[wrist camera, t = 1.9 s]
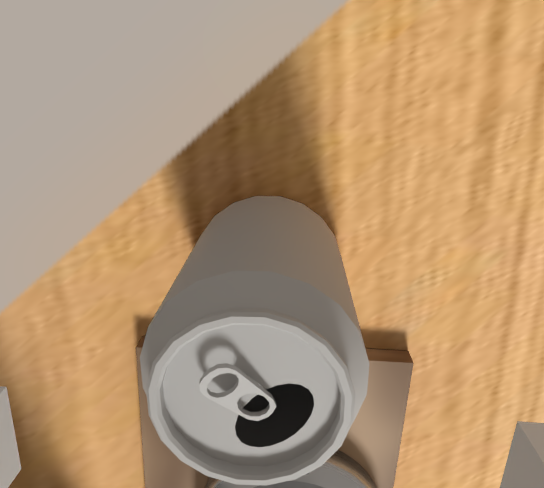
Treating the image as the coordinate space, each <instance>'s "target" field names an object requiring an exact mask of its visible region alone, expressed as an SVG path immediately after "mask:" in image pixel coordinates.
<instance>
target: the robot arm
mask: <svg viewBox="0 0 544 488" xmlns="http://www.w3.org/2000/svg"><path fill="white" fill-rule="evenodd" d="M20 470H21V464H20V458H19V453H18V447H17V442H16V436H15V431H14V425H13V420H12V414H11V409H10V403H9V398H8V392H7V387H2V386H0V488H8V487H9V486H10V484H11V483H12V482H13V480H14V479H15V477H16V476H17V474H18V473H19V472H20ZM500 488H544V423H534V422H519V421H517V425H516V429H515V432H514V436H513V440H512V444H511V448H510V451H509V455H508V459H507V463H506V466H505V470H504V474H503V478H502V482H501V485H500Z"/></svg>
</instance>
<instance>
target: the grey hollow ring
mask: <svg viewBox="0 0 544 488" xmlns="http://www.w3.org/2000/svg"><path fill="white" fill-rule="evenodd" d="M205 488H376V485H375V483H374V481H373V480H372V478H371V477H370V475H369V474H368V472H367V471H366V470H365V469H364V468H363V467H362V466H361V465H360V464H359V463H358V462H356V461H355V460H354V459H353V458H351V457H350V456H348V455H347V454H345V453H343V452H342V451H340V450H337V451H336V452H335V453H334V454H333V455H332V456H331V457H330V458H329V459H328V460H327V461H326V462H325V463H324V464H323V465H322V466H320V467H318V468H316V469H314V470H313V471H311V472H309V473H307V474H305V475H303V476H301V477H299V478H297V479H294V480H290V481H285V482H280V483H276V484H271V485H239V484H233V483H229V482H226V481H222V480H219V479H215V478H212V477H209V479H208V481H207V484H206V486H205Z"/></svg>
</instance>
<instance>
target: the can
mask: <svg viewBox="0 0 544 488" xmlns="http://www.w3.org/2000/svg"><path fill="white" fill-rule="evenodd" d="M140 365H141V374H142V384H143V389H144V391H145V393H146V395H147V404H148V413H149V417H150V419H151V421H152V423H153V425H154V427H155V429H156V431H157V433H158V435H159V437H160V439H161V441H162V442H163V443H164V444H165V445H166V446H167V447H168V448H169V449H170V450H171V451H172V452H173V453H174V454H175V455H176V456H177V457H178V458H179V460H180V461H182V462H184V463H185V464H187V465H189V466H190V467H192V468H194V469H196V470H197V471H199V472H201V473H202V474H204V475H206V476H208V477H212V478H215V479H219V480H222V481H226V482H229V483H233V484H239V485H271V484H276V483H280V482H285V481H290V480H294V479H297V478H299V477H301V476H303V475H305V474H307V473H309V472H311V471H313V470H314V469H316V468H318V467H320V466H322V465H323V464H324V463H325V462H326V461H327V460H328V459H329V458H330V457H331V456H332V455H333V454H334V453H335V452H336V451H337V450H338V449H339V448H340V447H341V446H342V444H343V442H344V440H345V438H346V436H347V434H348V431H349V429H350V427H351V425H352V423H353V422H354V420H355V418H356V416H357V414H358V412H359V410H360V408H361V406H362V404H363V401H364V399H365V397H366V395H367V387H368V375H369V360H368V356H367V353H366V349H365V345H364V341H363V337H362V334H361V330H360V326H359V322H358V319H357V315H356V311H355V307H354V303H353V300H352V296H351V292H350V288H349V285H348V281H347V277H346V273H345V269H344V266H343V262H342V258H341V255H340V251H339V248H338V244H337V241H336V237H335V235H334V234H333V232H332V231H331V230H330V228H329V227H328V225H327V224H326V223H325V221H324V220H323V218H322V217H320V216H319V215H318V214H316V213H315V212H314V211H312V210H311V209H309V208H308V207H307V206H305V205H304V204H302V203H299V202H296V201H293V200H290V199H287V198H284V197H281V196H254V197H251V198H247V199H244V200H241V201H238V202H234V203H232V204H231V205H230V206H228V207H227V208H225V209H224V210H222V211H221V212H220V213H218V214H217V215H215V216H214V218H213V219H212V220H211V222H210V223H209V224H208V226H207V227H206V229H205V230H204V231H203V233H202V234H201V236H200V238H199V239H198V241H197V243H196V245H195V246H194V248H193V250H192V252H191V253H190V255H189V257H188V259H187V260H186V262H185V264H184V266H183V267H182V269H181V271H180V273H179V274H178V276H177V278H176V279H175V281H174V283H173V285H172V286H171V288H170V290H169V292H168V293H167V295H166V297H165V299H164V300H163V302H162V304H161V306H160V307H159V309H158V311H157V313H156V314H155V316H154V318H153V319H152V321H151V323H150V325H149V326H148V329H147V333H146V336H145V340H144V344H143V347H142V351H141V355H140Z"/></svg>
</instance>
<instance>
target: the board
mask: <svg viewBox="0 0 544 488" xmlns="http://www.w3.org/2000/svg"><path fill="white" fill-rule="evenodd" d="M144 340H145V336H142V338H141V340H140V341H139V343H138V345H137V347H136V355H137V370H138V385H139V400H140V415H141V430H142V445H143V461H144V476H145V488H205V486H206V484H207V481H208V479H209V477H208V476H206V475H204V474H202V473H201V472H199V471H197V470H196V469H194V468H192V467H190V466H189V465H187V464H185V463H184V462H182V461H180V460H179V458H178V457H177V456H176V455H175V454H174V453H173V452H172V451H171V450H170V449H169V448H168V447H167V446H166V445H165V444H164V443H163V442H162V441H161V439H160V437H159V435H158V433H157V431H156V429H155V427H154V425H153V423H152V421H151V419H150V417H149V413H148V404H147V395H146V393H145V391H144V389H143V384H142V374H141V365H140V355H141V351H142V347H143V344H144ZM365 349H366V348H365ZM366 353H367V356H368V360H369V375H368V387H367V395H366V397H365V399H364V401H363V404H362V406H361V408H360V410H359V412H358V414H357V416H356V418H355V420H354V422H353V423H352V425H351V427H350V429H349V431H348V434H347V436H346V438H345V440H344V442H343V444H342V446H341V447H340V448H339V449H338V450H340V451H342V452H343V453H345V454H347V455H348V456H350V457H351V458H353V459H354V460H355V461H356V462H358V463H359V464H360V465H361V466H362V467H363V468H364V469H365V470H366V471H367V472H368V474H369V475H370V477H371V478H372V480H373V481H374V483H375V485H376V488H393V486H394V480H395V474H396V467H397V461H398V455H399V449H400V443H401V436H402V430H403V424H404V418H405V412H406V406H407V399H408V393H409V387H410V381H411V375H412V368H413V361H412V359H411V356H410V354H409V351H402V350H384V349H366Z"/></svg>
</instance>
